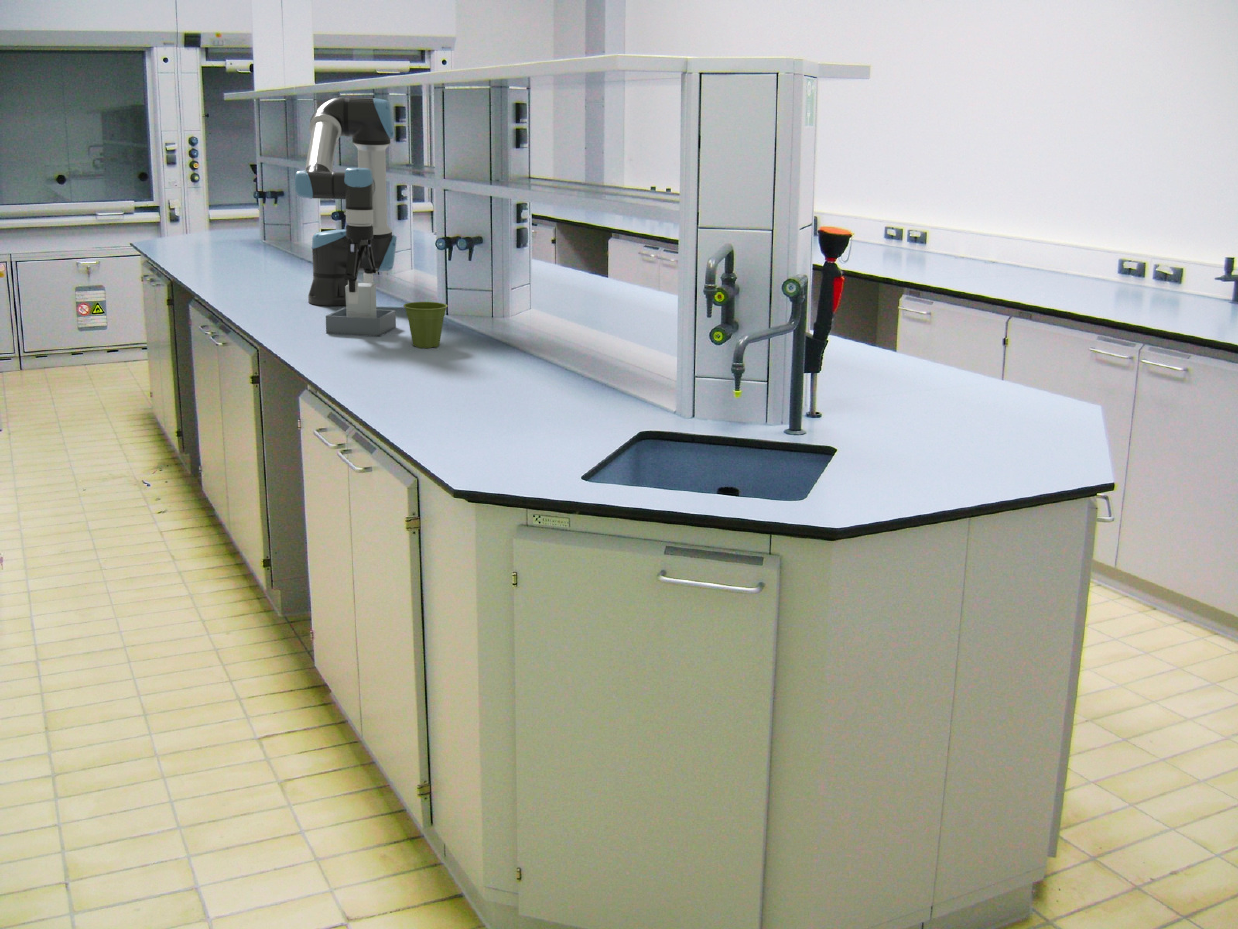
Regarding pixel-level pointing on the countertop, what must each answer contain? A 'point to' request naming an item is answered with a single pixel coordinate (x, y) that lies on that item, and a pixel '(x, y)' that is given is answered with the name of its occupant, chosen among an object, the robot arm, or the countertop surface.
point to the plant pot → (425, 322)
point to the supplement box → (363, 302)
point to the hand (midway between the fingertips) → (361, 299)
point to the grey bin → (360, 323)
